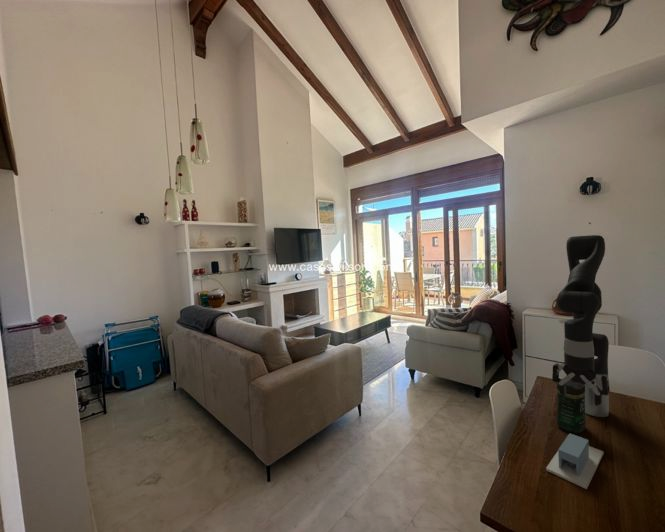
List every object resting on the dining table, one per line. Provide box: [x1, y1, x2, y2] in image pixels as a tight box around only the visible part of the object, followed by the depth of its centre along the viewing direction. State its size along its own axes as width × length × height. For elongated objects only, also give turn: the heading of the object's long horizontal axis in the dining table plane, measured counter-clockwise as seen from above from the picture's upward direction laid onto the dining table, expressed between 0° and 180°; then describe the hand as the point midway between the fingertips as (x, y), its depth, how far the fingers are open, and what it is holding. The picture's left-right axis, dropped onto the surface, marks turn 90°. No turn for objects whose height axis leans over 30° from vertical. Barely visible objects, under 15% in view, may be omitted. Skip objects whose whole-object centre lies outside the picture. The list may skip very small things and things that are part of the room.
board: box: [545, 445, 605, 490], centre depth 97 cm, size 22×10×3 cm, turn 128°
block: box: [557, 432, 590, 476], centre depth 95 cm, size 12×5×6 cm, turn 128°
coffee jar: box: [556, 380, 587, 434], centre depth 114 cm, size 10×8×19 cm
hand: (579, 399), depth 97 cm, fingers open, 8 cm apart
